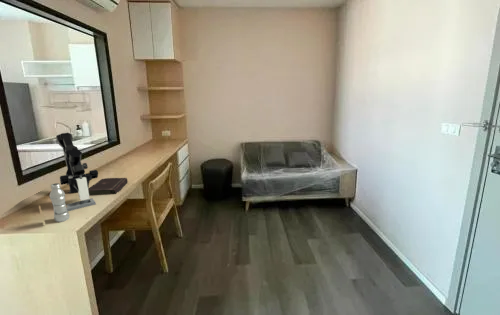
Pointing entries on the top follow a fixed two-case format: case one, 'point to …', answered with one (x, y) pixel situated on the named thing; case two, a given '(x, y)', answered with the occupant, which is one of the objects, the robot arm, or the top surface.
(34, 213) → the top surface
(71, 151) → the robot arm
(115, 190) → the diary
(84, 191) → the charger
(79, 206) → the power strip
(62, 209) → the plastic bottle
